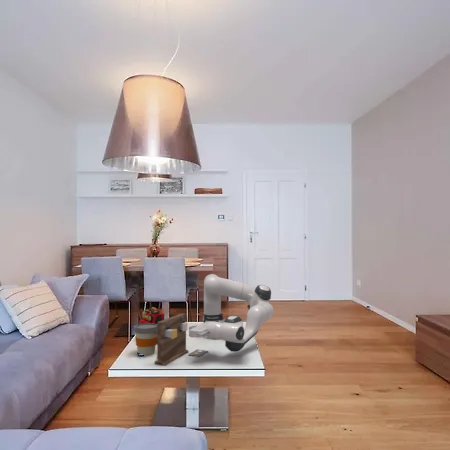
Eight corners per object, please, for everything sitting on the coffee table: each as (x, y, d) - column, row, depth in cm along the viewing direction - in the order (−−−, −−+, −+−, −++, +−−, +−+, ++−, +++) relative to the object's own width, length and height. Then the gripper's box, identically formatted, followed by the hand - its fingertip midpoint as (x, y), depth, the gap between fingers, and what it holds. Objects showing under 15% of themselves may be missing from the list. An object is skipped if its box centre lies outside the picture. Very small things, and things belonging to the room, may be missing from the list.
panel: (188, 352, 200) (188, 314, 201) (164, 365, 179) (164, 323, 180) (179, 351, 203) (179, 313, 203) (154, 364, 182) (154, 321, 182)
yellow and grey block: (177, 336, 184) (177, 329, 184) (172, 338, 180) (172, 330, 180) (164, 335, 187) (164, 327, 187) (160, 337, 183) (160, 329, 183)
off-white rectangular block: (187, 329, 199) (187, 322, 199) (183, 331, 195) (183, 323, 195) (175, 328, 202) (175, 321, 202) (171, 329, 198) (171, 322, 198)
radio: (138, 340, 224) (138, 308, 224) (152, 337, 230) (152, 306, 231) (150, 346, 212) (150, 311, 212) (165, 343, 218) (165, 309, 219)
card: (208, 351, 201) (208, 350, 201) (199, 357, 192) (199, 355, 192) (196, 350, 204) (196, 348, 204) (188, 355, 195) (188, 353, 195)
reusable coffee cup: (143, 348, 207) (143, 322, 207) (162, 351, 202) (162, 324, 203) (129, 355, 195) (130, 327, 196) (149, 358, 191) (149, 329, 191)
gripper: (204, 341, 180) (180, 338, 186) (221, 331, 199) (199, 329, 204) (203, 329, 180) (180, 326, 186) (221, 320, 199) (199, 318, 205)
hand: (190, 327), depth 195 cm, fingers closed
